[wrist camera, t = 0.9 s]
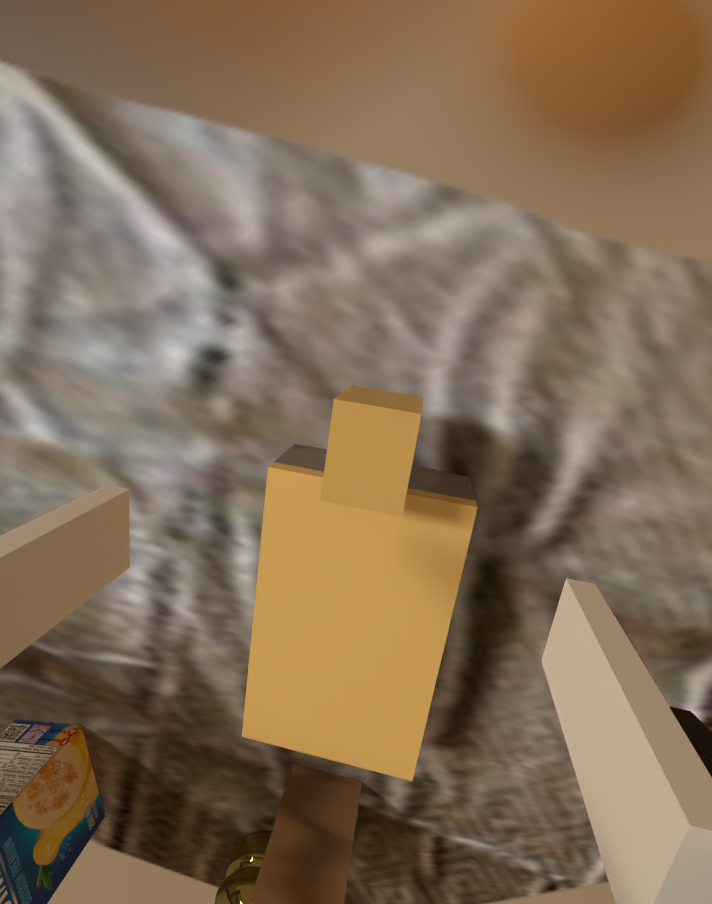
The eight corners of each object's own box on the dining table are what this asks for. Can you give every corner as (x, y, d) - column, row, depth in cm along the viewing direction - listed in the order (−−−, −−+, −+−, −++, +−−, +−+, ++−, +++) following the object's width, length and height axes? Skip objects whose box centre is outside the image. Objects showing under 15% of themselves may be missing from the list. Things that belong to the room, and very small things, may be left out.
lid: (247, 724, 33) (216, 791, 29) (282, 373, 26) (249, 384, 21) (412, 767, 32) (409, 844, 27) (497, 410, 25) (512, 430, 20)
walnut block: (286, 814, 41) (242, 961, 32) (293, 763, 40) (249, 902, 30) (352, 833, 41) (327, 988, 31) (362, 781, 39) (339, 929, 29)
